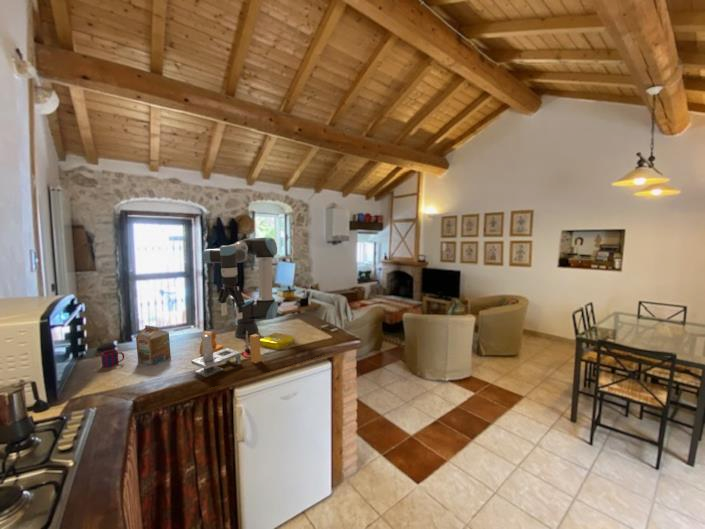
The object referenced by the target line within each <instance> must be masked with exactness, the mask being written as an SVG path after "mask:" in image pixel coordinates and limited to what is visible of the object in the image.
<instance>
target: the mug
mask: <svg viewBox="0 0 705 529" xmlns="http://www.w3.org/2000/svg"><path fill="white" fill-rule="evenodd" d="M119 354H121V355H122V359H121V360H119ZM100 357H101V366H102V368H104V369H105V368H111V367H115V366H117V365H119V363H121V362H123V360H125V354H124V353H123V351H121V352H119V351H118V350H117V349H110V350H105V351H103V352H102V353H100Z"/></svg>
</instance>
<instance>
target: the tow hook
mask: <svg viewBox="0 0 705 529" xmlns="http://www.w3.org/2000/svg"><path fill="white" fill-rule="evenodd" d="M249 346H250V343H249V337H248V332H247V331H246V338H245V348H244V351H242V352H241V355H242V356H243V357H244V358H248V359H251V355H248V354H251V351H250V347H249Z"/></svg>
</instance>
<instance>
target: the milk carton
mask: <svg viewBox="0 0 705 529" xmlns="http://www.w3.org/2000/svg"><path fill="white" fill-rule="evenodd" d="M135 342H136V352H137V354H136V355H137V364H141V365H145V366H149V367H153V366H156V365H158V364H161V363H162V362H165V361H167V360H169V359H171V358H172V355H171V341H170V333H169V332H168V331H166V330H163V329H160V327H159V326H154V325H148V324H147V325H144V328H143V329H142V330H141V331H140V332H139V333H138V334H137V335H136V336H135Z"/></svg>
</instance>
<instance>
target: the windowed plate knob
mask: <svg viewBox="0 0 705 529" xmlns="http://www.w3.org/2000/svg"><path fill="white" fill-rule="evenodd" d="M201 341H202V350H203V354H202V356H201V357H198V358H197V357H196V358H195V359H192V360H191V364H192V365H195V366H196V367H200V368H199V369H197V370H195V371H194V373H195V374H197V375H198V376H202V377H203V378H204V377H205V378H207V377H210V376H211V375H214V374H217V373H219V372H221V371H223V370H224V368H222V367H220V366H218V365H219V364H222V363H224V362H227V361H230V360H233V359H235V364H236V365H237V366H238V365H242V362H241V360H242V359H241V355H242V354H241V353H242V352H241V351H237V350H233V349H231V348H227V347H226V348H223V349H222V350H220V351H217V352H214V353H213V348H212V334H205V335H203V334H202V335H201Z"/></svg>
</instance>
